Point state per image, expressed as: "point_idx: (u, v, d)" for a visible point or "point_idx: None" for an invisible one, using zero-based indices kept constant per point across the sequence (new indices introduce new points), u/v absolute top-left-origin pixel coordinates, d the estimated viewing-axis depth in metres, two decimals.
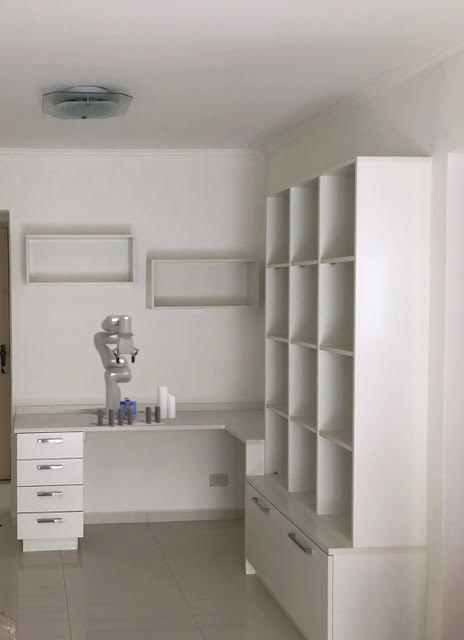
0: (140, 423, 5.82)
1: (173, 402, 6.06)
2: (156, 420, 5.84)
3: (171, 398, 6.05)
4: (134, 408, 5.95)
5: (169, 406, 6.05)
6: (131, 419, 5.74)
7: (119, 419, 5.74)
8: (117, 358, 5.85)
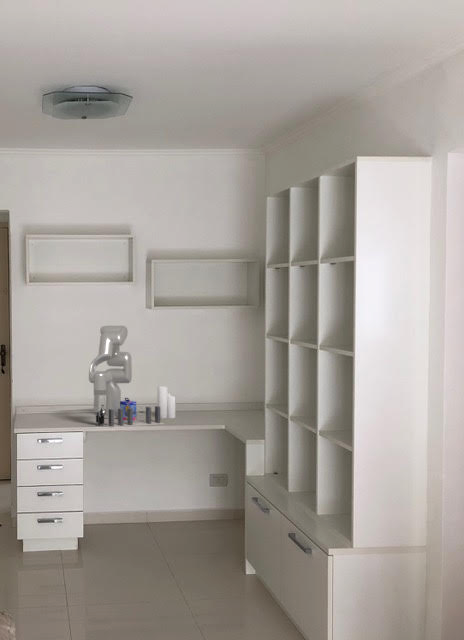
0: (140, 423, 5.82)
1: (173, 402, 6.06)
2: (156, 420, 5.84)
3: (171, 398, 6.05)
4: (134, 408, 5.95)
5: (169, 406, 6.05)
6: (131, 419, 5.74)
7: (119, 419, 5.74)
8: (103, 418, 5.72)
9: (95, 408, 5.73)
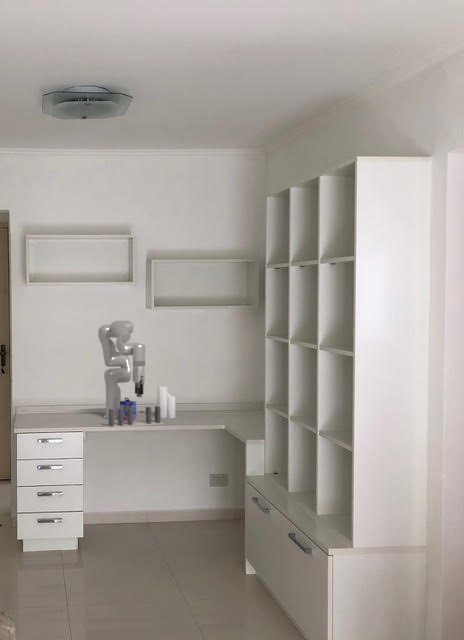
0: (140, 423, 5.82)
1: (173, 402, 6.06)
2: (156, 420, 5.84)
3: (171, 398, 6.05)
4: (134, 408, 5.95)
5: (169, 406, 6.05)
6: (131, 419, 5.74)
7: (119, 419, 5.74)
8: (142, 389, 5.76)
9: (134, 379, 5.77)
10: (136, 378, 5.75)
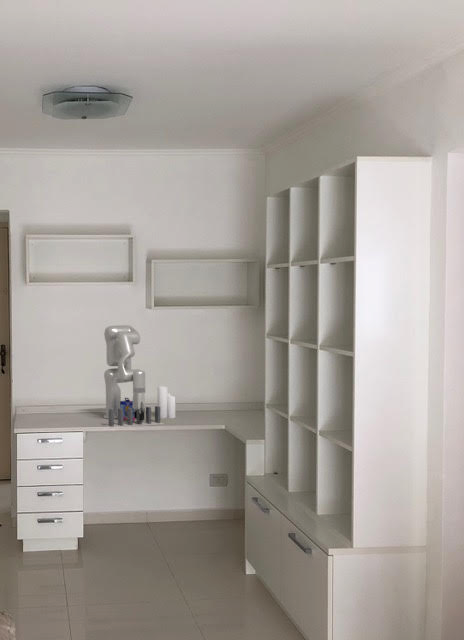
0: None
1: (173, 402, 6.06)
2: (156, 420, 5.84)
3: (171, 398, 6.05)
4: None
5: (169, 406, 6.05)
6: (131, 419, 5.74)
7: (119, 419, 5.74)
8: (143, 414, 5.75)
9: (134, 406, 5.78)
10: (136, 405, 5.75)
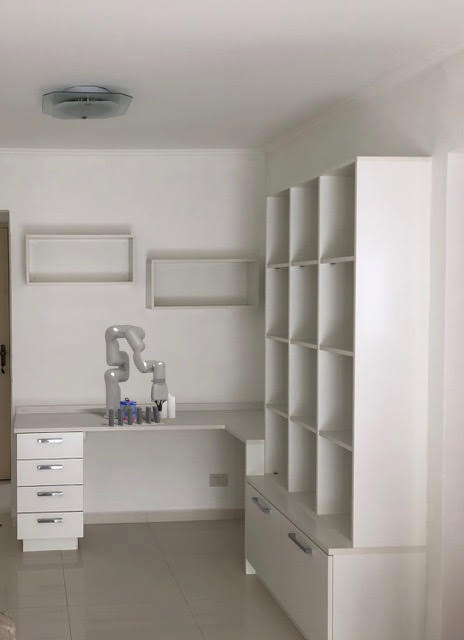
0: None
1: (173, 402, 6.06)
2: (156, 420, 5.84)
3: (171, 398, 6.05)
4: (134, 408, 5.95)
5: (169, 406, 6.05)
6: (131, 419, 5.74)
7: (119, 419, 5.74)
8: None
9: (160, 396, 5.82)
10: (165, 395, 5.83)
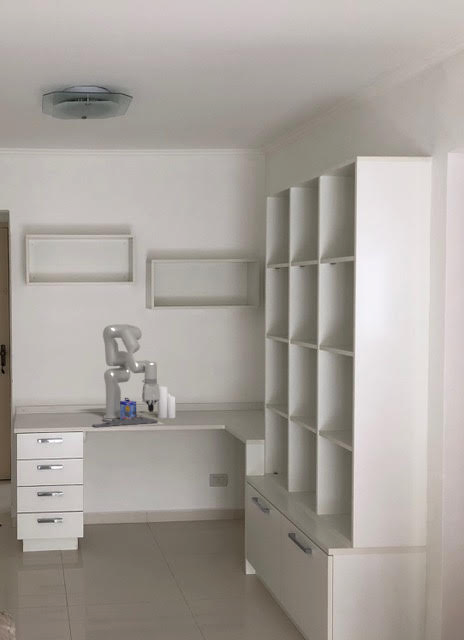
0: (140, 423, 5.82)
1: (173, 402, 6.06)
2: None
3: (171, 398, 6.05)
4: (134, 408, 5.95)
5: (169, 406, 6.05)
6: (124, 422, 5.73)
7: None
8: None
9: (152, 397, 5.80)
10: (156, 395, 5.81)
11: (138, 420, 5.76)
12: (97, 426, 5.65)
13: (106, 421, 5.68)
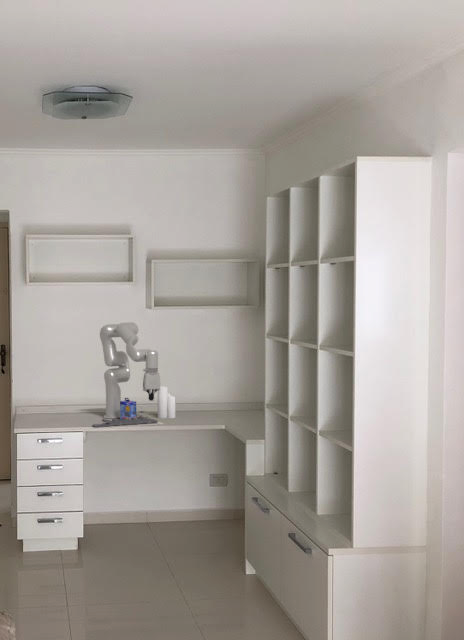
0: (140, 423, 5.82)
1: (173, 402, 6.06)
2: None
3: (171, 398, 6.05)
4: (134, 408, 5.95)
5: (169, 406, 6.05)
6: (124, 422, 5.73)
7: None
8: None
9: (152, 386, 5.80)
10: (157, 384, 5.81)
11: (138, 420, 5.76)
12: (97, 426, 5.65)
13: (106, 421, 5.68)
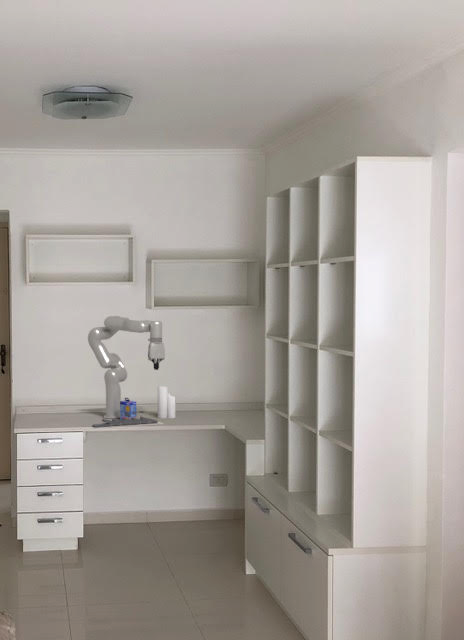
0: (140, 423, 5.82)
1: (173, 402, 6.06)
2: None
3: (171, 398, 6.05)
4: (134, 408, 5.95)
5: (169, 406, 6.05)
6: (124, 422, 5.73)
7: None
8: None
9: (157, 355, 5.93)
10: (162, 353, 5.95)
11: (138, 420, 5.76)
12: (97, 426, 5.65)
13: (106, 421, 5.68)
